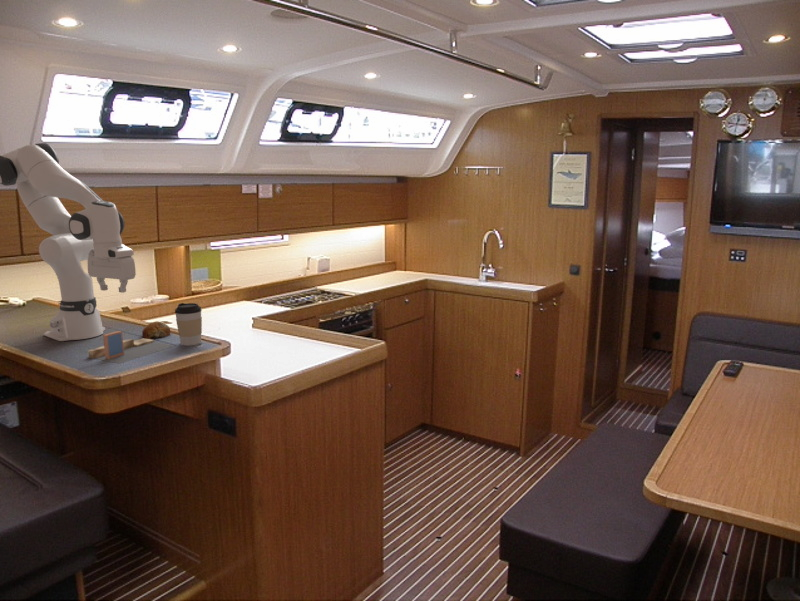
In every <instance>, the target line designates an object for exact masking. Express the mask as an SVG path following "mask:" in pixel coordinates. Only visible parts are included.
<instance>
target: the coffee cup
mask: <svg viewBox="0 0 800 601" xmlns="http://www.w3.org/2000/svg"><path fill="white" fill-rule="evenodd" d="M202 310H203V309H202V307H201V306H200V305H199V304H198V303H194V302H191V303H189V302H188V303H187V302H186V303H185V302H182V303H181V302H180V303H178V305H177V307H176V308H175V309H174V314H175V318H176V319H175V320H176V325H177V326H176V327H177V332H178V336H179V342H180V345H181V346H191V347H193V348H198V347H200V346H202V332H203V331H202V330H203V328H202V327H203V325H202V324H203V320H202Z"/></svg>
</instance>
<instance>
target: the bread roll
mask: <svg viewBox="0 0 800 601" xmlns="http://www.w3.org/2000/svg"><path fill="white" fill-rule="evenodd" d="M171 331H172V330H171V328H170V327H169V325H168V324H167V323H165V322H162V321H153V322H152V321H151V322H149V323H148V324H146V326H145V327H144V328H143V329H142V331H141V332H142V334H141V335H142V338H145V339H151V340H155V339H161V338H166V337H169V336H171Z"/></svg>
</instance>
